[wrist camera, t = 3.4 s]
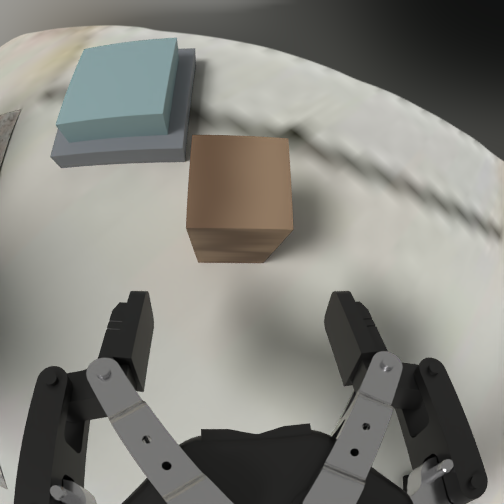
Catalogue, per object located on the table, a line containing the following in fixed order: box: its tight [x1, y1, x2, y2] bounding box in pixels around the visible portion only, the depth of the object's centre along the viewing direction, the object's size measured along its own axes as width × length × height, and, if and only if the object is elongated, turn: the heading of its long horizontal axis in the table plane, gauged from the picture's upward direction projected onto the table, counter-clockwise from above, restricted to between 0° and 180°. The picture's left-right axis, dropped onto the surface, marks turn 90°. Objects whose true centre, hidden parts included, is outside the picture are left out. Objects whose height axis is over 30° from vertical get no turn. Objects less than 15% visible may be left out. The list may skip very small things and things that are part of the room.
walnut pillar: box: [186, 135, 293, 263], centre depth 20 cm, size 5×5×10 cm
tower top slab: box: [56, 38, 179, 143], centre depth 22 cm, size 9×9×3 cm
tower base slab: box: [50, 49, 196, 168], centre depth 25 cm, size 12×12×3 cm
